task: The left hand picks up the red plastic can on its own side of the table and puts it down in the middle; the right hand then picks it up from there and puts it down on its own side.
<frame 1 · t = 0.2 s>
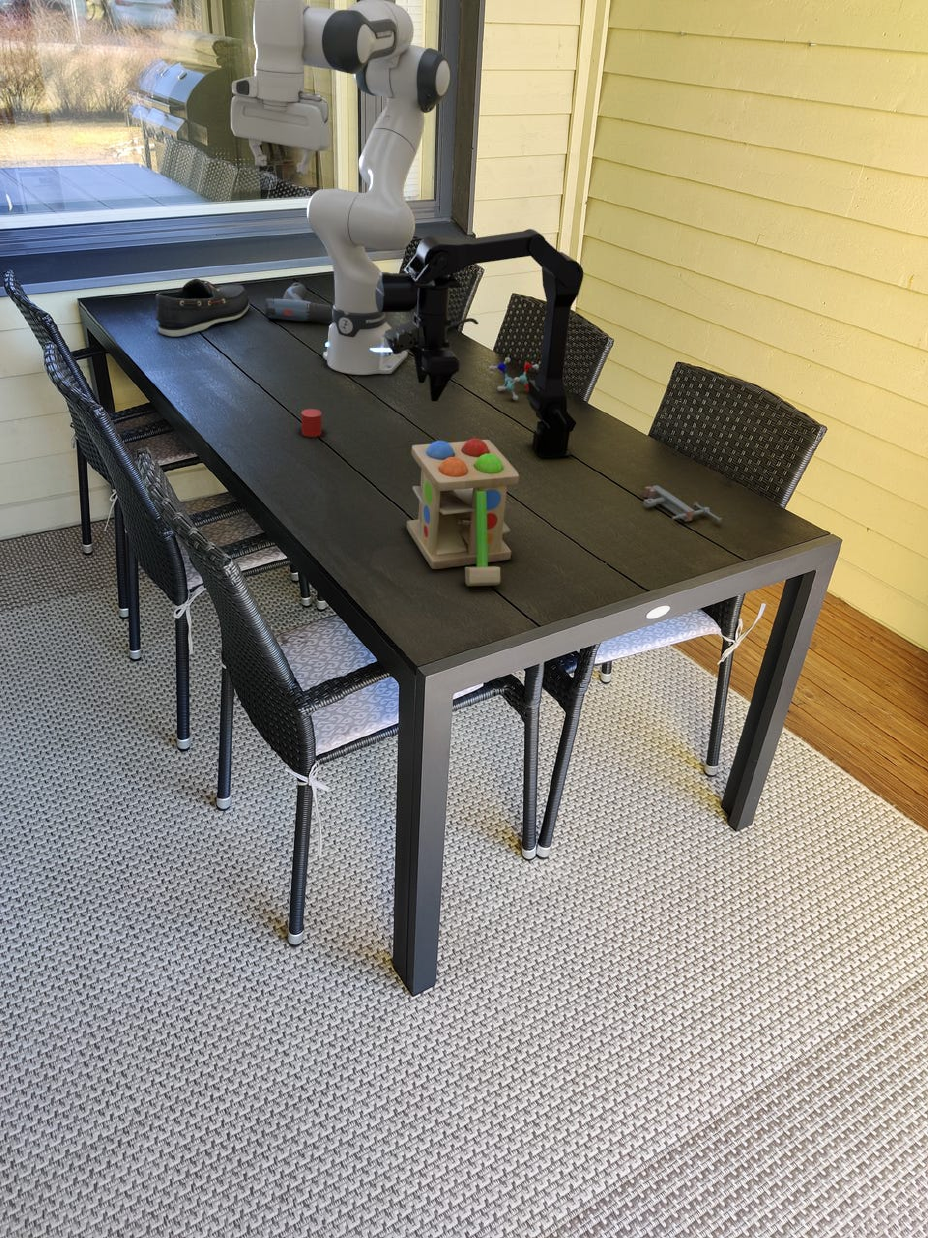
left hand: (281, 169, 187), 48 cm above the table, tool pointing down, fingers open, 8 cm apart
right hand: (427, 391, 189), 14 cm above the table, tool pointing down, fingers open, 9 cm apart
power drill: (305, 313, 267), on the table
pounding bench toy: (465, 557, 167), on the table
clamp: (675, 513, 187), on the table
molecular model: (510, 393, 231), on the table
can: (311, 433, 203), on the table
boat shoe: (205, 319, 256), on the table
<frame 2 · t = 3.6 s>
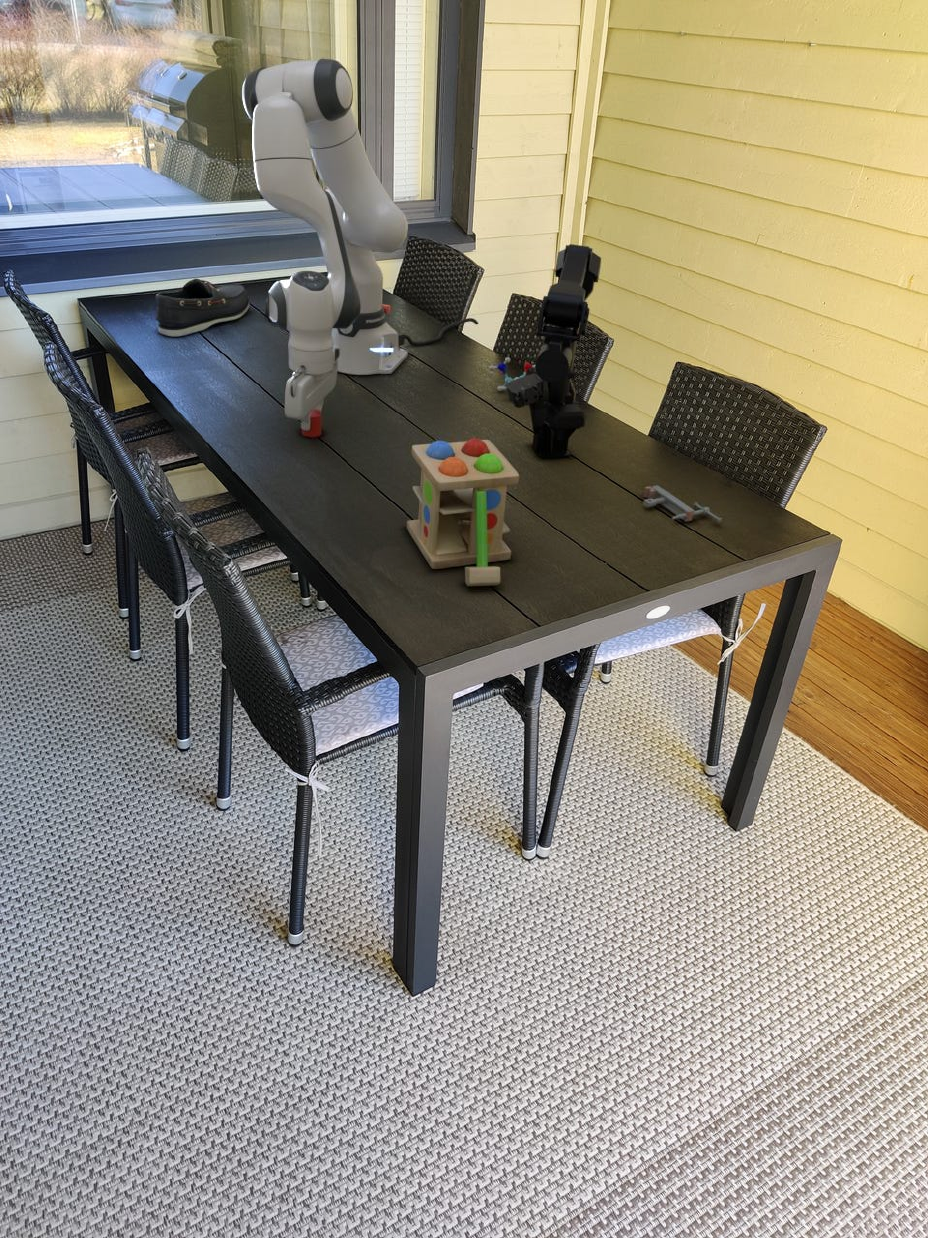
left hand: (311, 423, 202), 2 cm above the table, tool pointing down, fingers closed on can, 4 cm apart
right hand: (545, 443, 184), 10 cm above the table, tool pointing down, fingers open, 9 cm apart
can: (311, 433, 203), on the table, touching left hand
everything else where it was.
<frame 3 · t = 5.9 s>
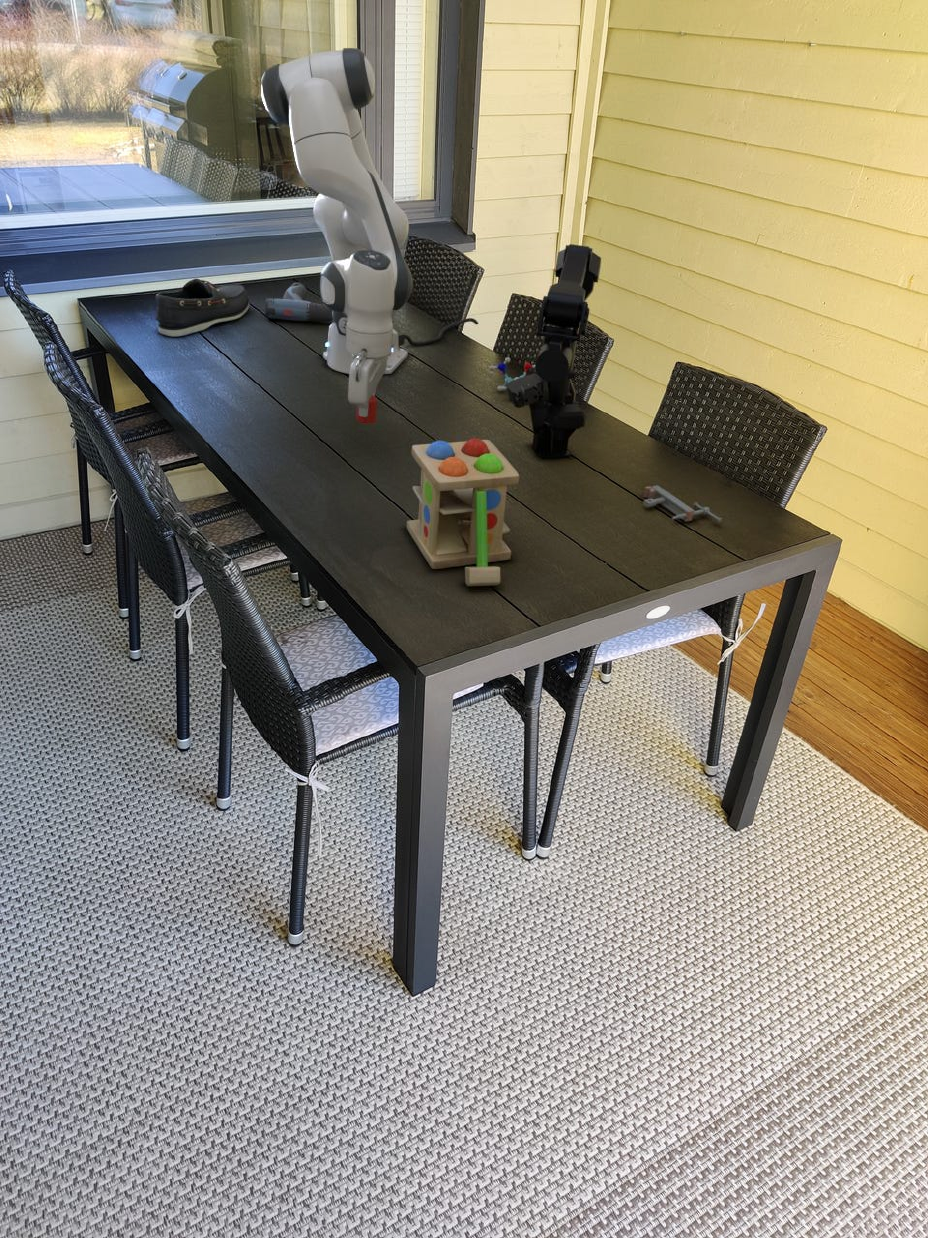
left hand: (366, 410, 195), 8 cm above the table, tool pointing down, fingers closed on can, 4 cm apart
right hand: (545, 443, 184), 10 cm above the table, tool pointing down, fingers open, 9 cm apart
can: (366, 419, 196), point 6 cm above the table, touching left hand
everything else where it was.
when the left hand's fingers open (3 cm above the table, at t = 8.1 s): can stays where it is, on the table.
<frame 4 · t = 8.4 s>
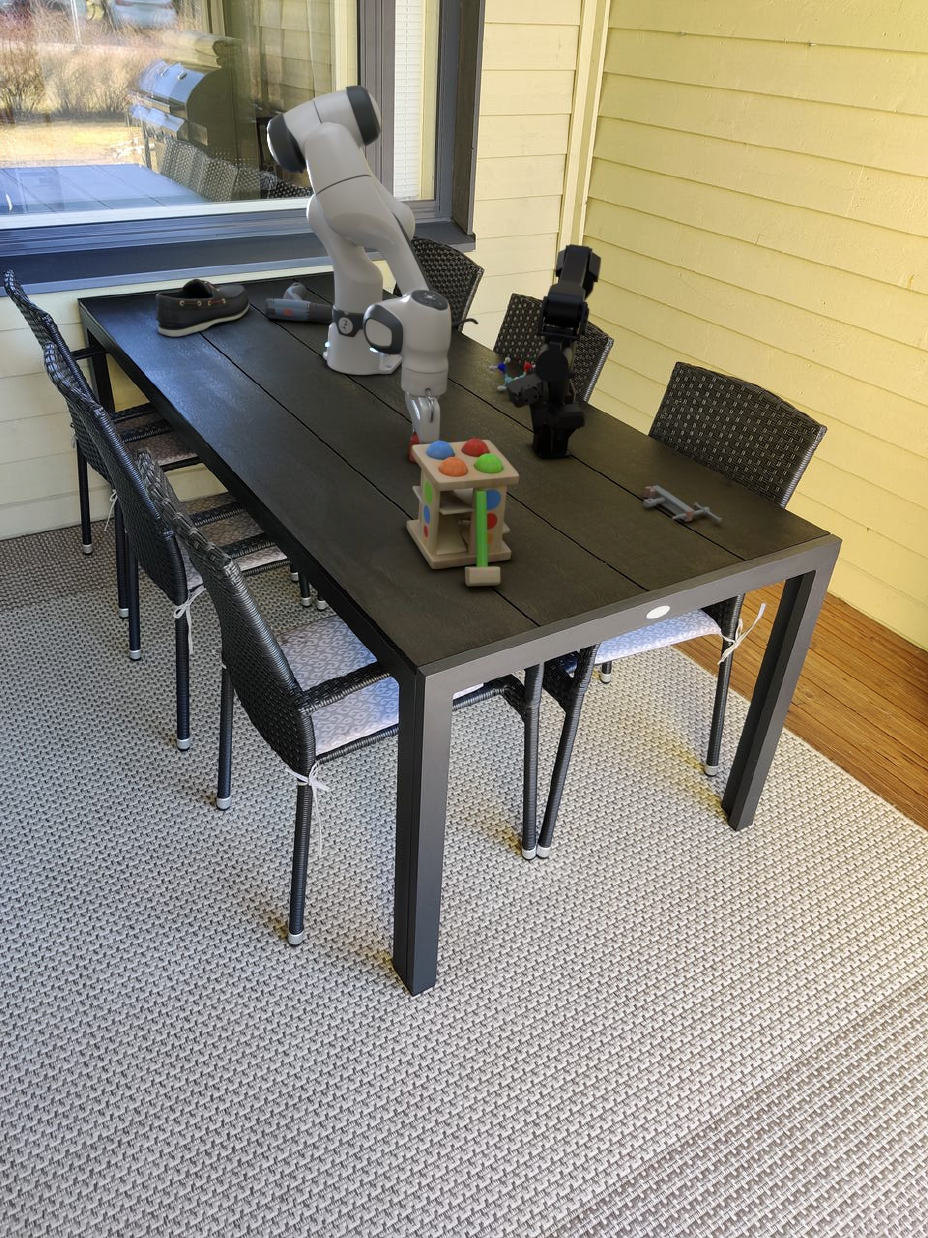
left hand: (420, 446, 195), 3 cm above the table, tool pointing down, fingers open, 7 cm apart
right hand: (545, 443, 184), 10 cm above the table, tool pointing down, fingers open, 9 cm apart
can: (419, 459, 197), on the table
everything else where it was.
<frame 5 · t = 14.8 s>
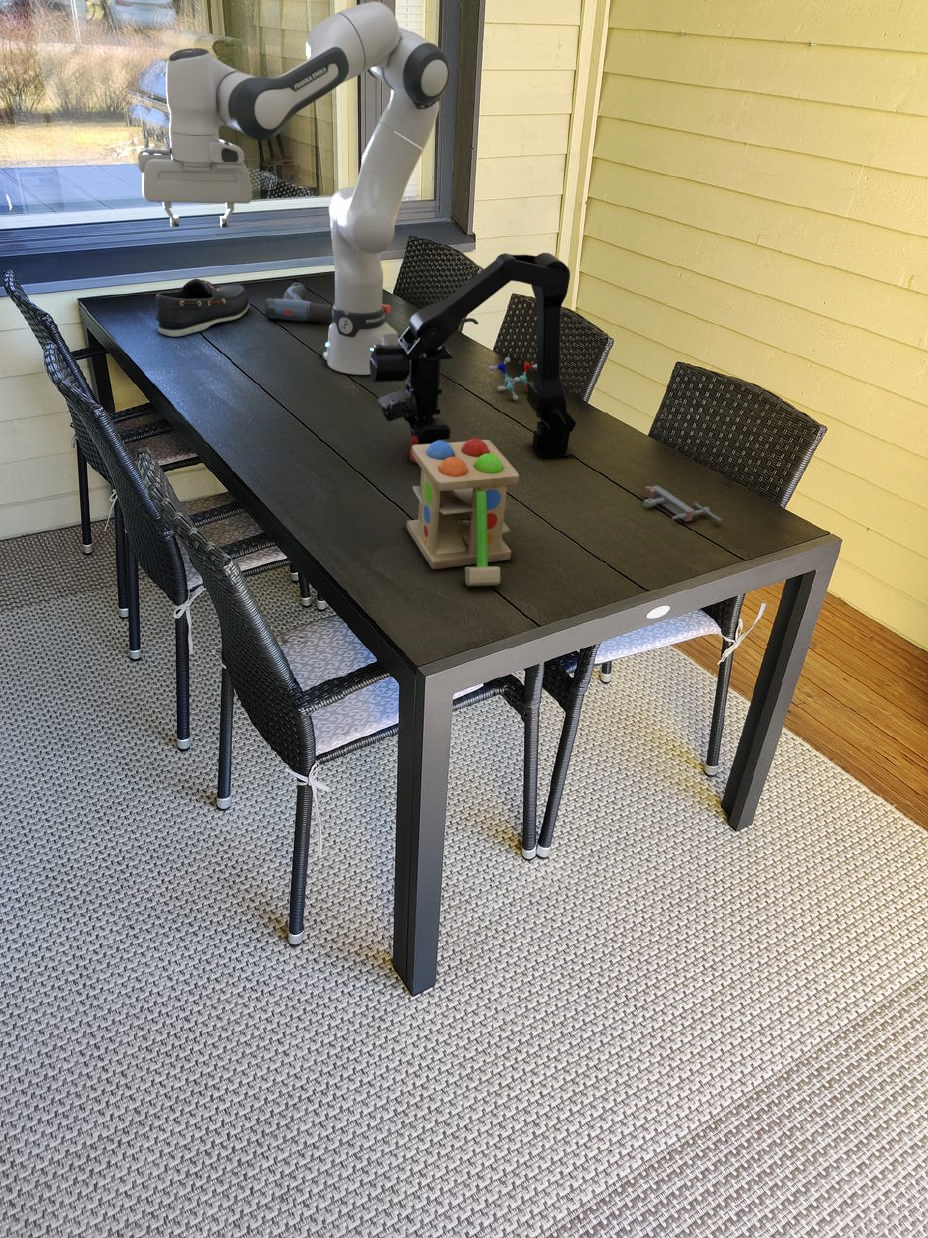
left hand: (200, 226, 190), 37 cm above the table, tool pointing down, fingers open, 8 cm apart
right hand: (419, 454, 196), 1 cm above the table, tool pointing down, fingers closed on can, 4 cm apart
can: (419, 459, 197), on the table, touching right hand
everything else where it was.
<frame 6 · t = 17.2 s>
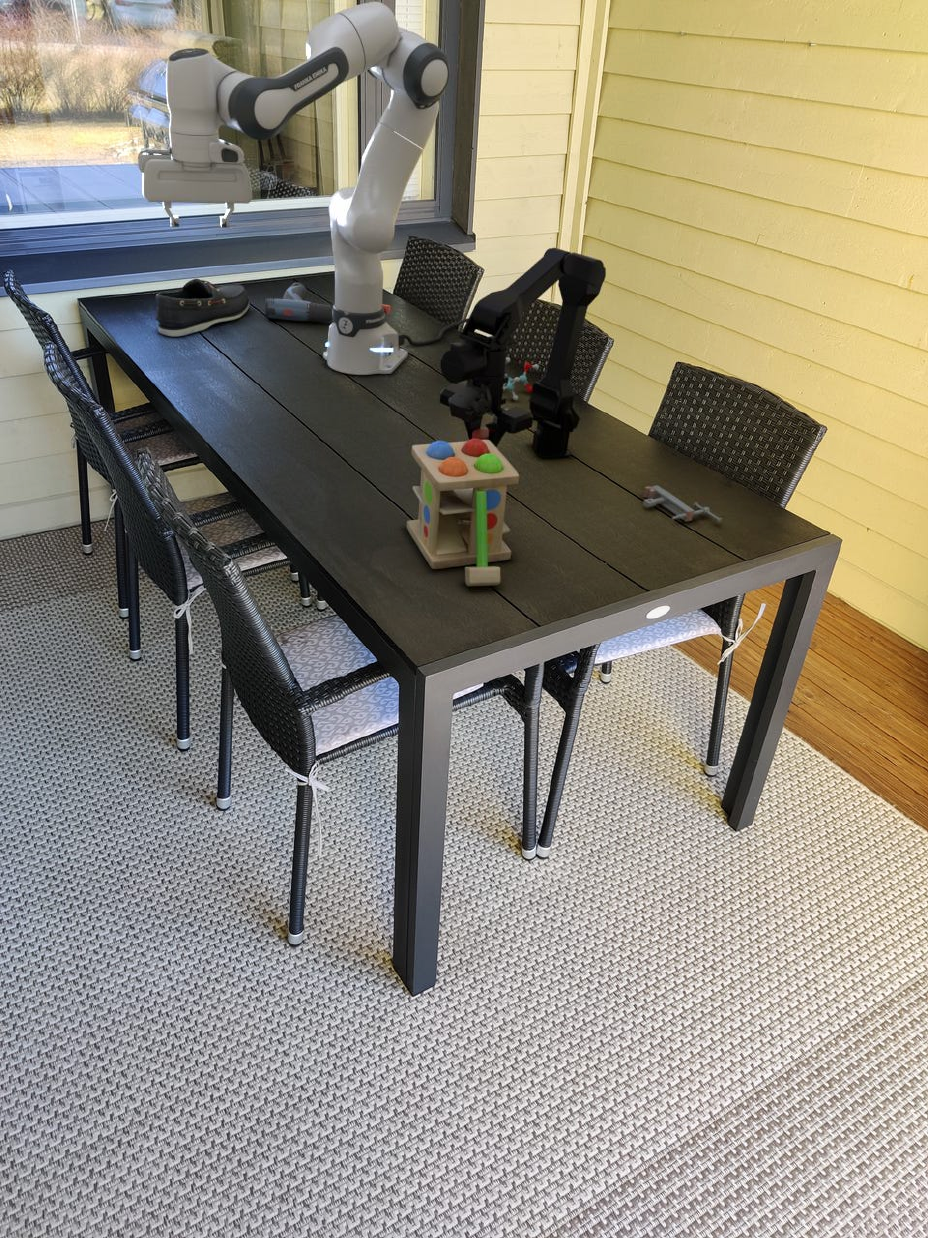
left hand: (200, 226, 190), 37 cm above the table, tool pointing down, fingers open, 8 cm apart
right hand: (481, 449, 187), 7 cm above the table, tool pointing down, fingers closed on can, 4 cm apart
can: (480, 454, 188), point 6 cm above the table, touching right hand
everything else where it was.
when the right hand's fingers open (2 cm above the table, at t = 20.1 s): can stays where it is, on the table.
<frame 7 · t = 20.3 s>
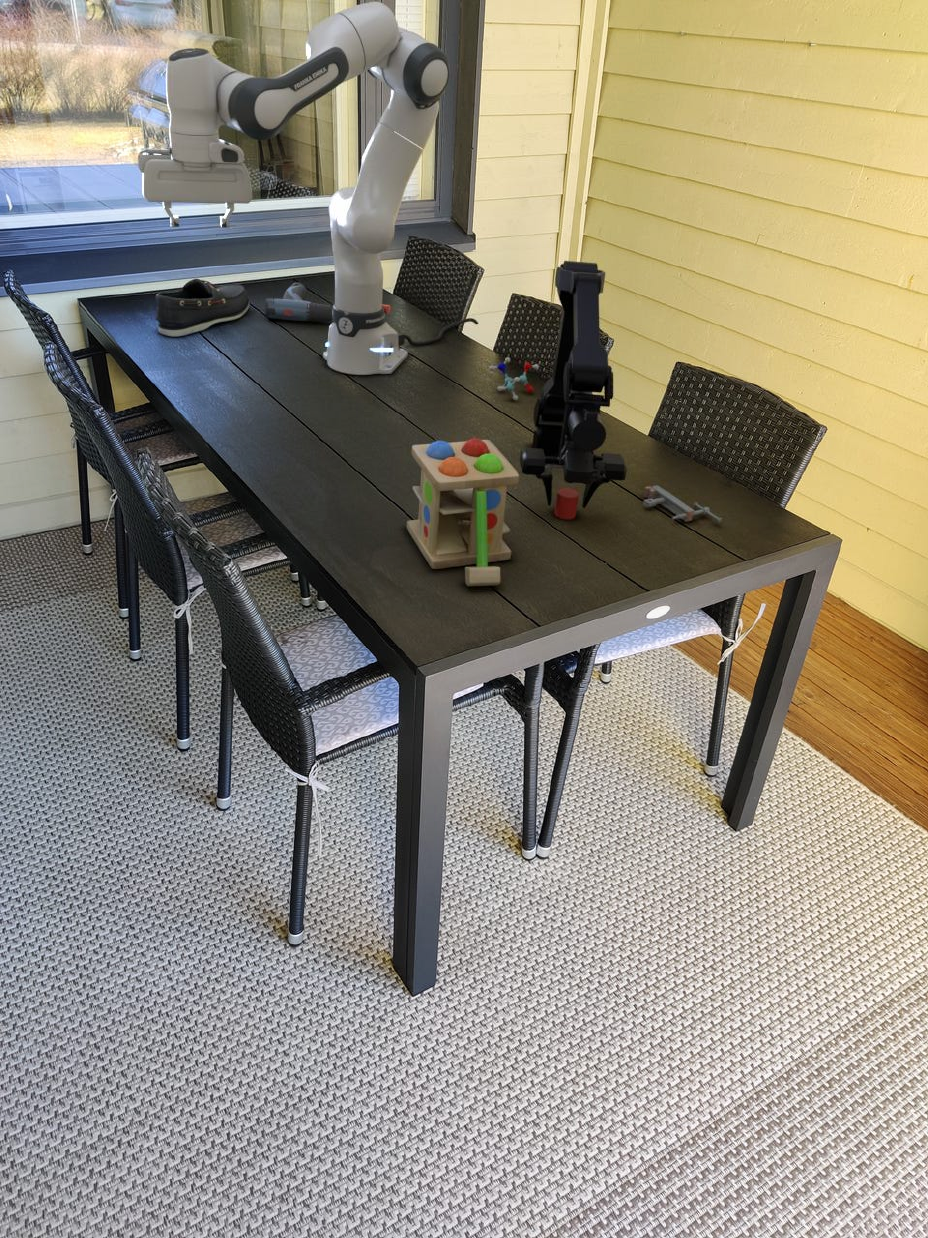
left hand: (200, 226, 190), 37 cm above the table, tool pointing down, fingers open, 8 cm apart
right hand: (566, 505, 182), 2 cm above the table, tool pointing down, fingers open, 6 cm apart
can: (564, 514, 183), on the table
everything else where it was.
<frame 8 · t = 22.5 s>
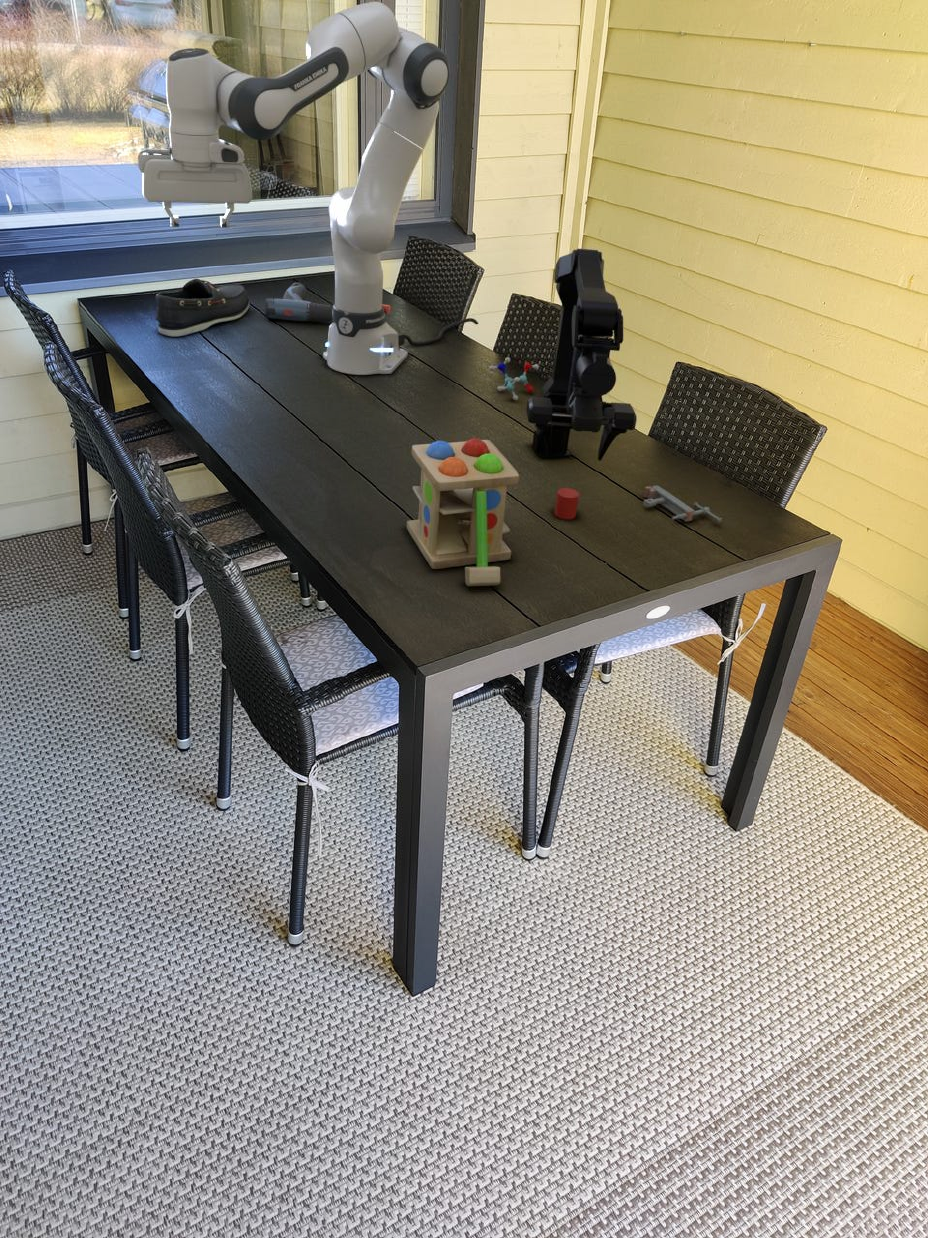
left hand: (200, 226, 190), 37 cm above the table, tool pointing down, fingers open, 8 cm apart
right hand: (573, 457, 176), 11 cm above the table, tool pointing down, fingers open, 9 cm apart
nothing on the table moved.
at the end: can inside the target area (0.0 cm from its centre), on the table; can tilted 0°; the two hands never held the can at the same time; the left hand is holding nothing; the right hand is holding nothing; can at rest at the end (0.0 cm/s) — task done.
